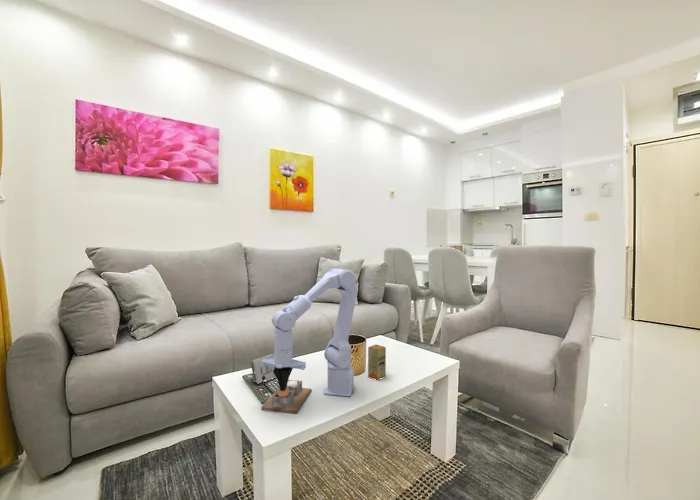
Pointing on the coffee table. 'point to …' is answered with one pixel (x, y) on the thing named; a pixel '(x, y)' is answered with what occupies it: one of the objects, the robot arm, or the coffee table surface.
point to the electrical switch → (262, 370)
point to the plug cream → (292, 383)
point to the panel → (288, 400)
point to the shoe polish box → (376, 362)
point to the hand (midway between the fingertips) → (283, 389)
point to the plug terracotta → (283, 393)
